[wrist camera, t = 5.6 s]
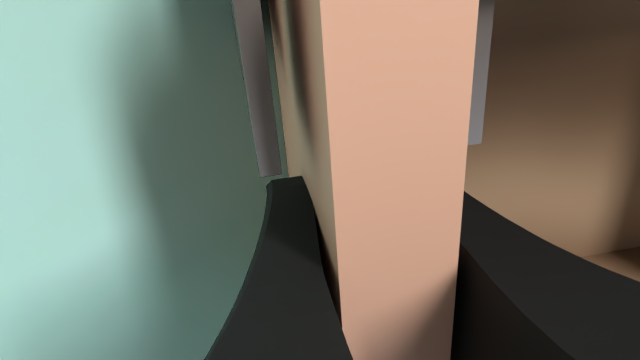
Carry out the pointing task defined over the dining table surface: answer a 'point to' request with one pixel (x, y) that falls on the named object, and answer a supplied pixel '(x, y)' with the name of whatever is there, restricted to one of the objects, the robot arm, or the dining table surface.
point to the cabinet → (530, 119)
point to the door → (381, 158)
